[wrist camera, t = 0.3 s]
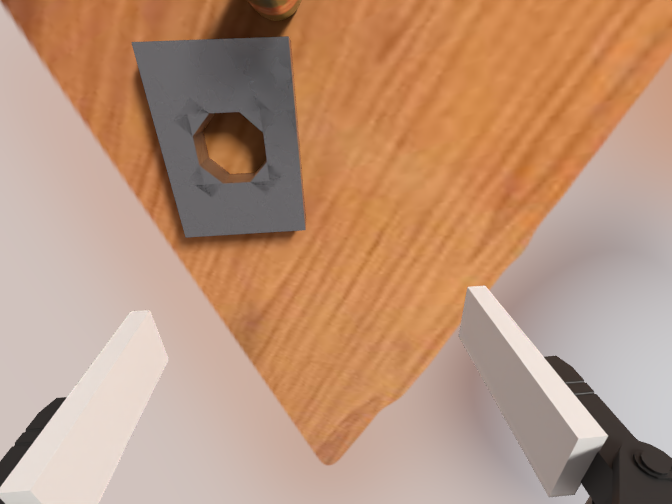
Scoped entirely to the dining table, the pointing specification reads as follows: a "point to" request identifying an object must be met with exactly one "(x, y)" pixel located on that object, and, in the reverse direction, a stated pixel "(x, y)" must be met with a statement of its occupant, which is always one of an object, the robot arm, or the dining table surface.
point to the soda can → (275, 8)
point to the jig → (220, 97)
